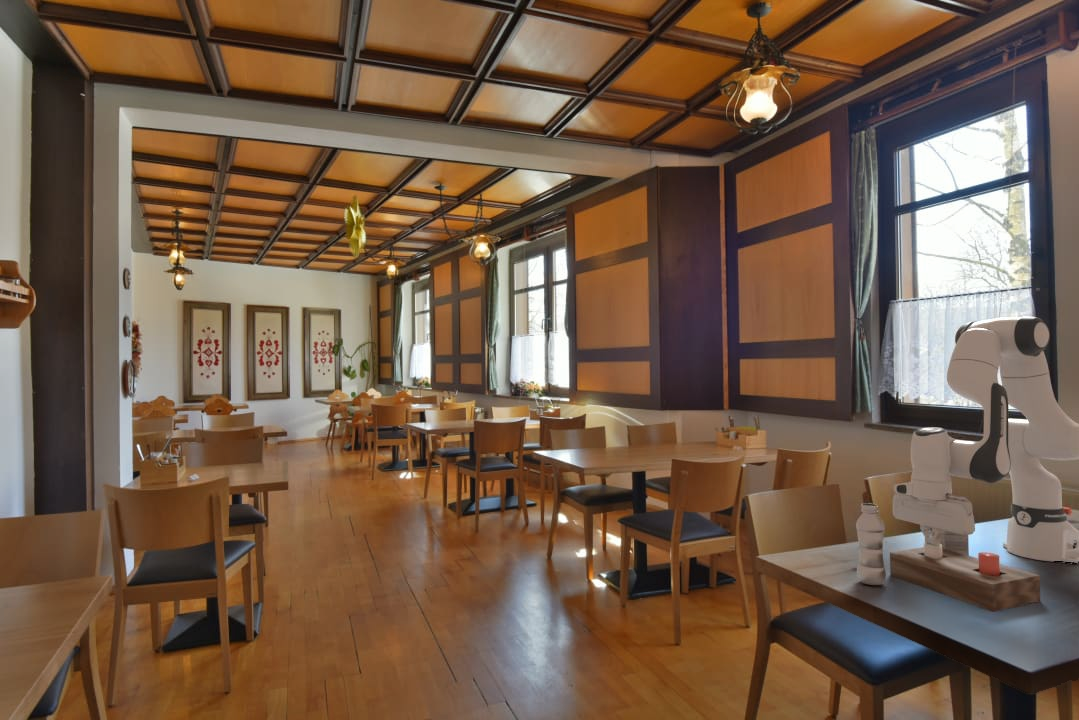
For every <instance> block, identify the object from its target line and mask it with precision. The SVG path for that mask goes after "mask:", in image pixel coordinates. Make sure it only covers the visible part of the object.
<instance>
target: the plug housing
mask: <svg viewBox="0 0 1079 720" xmlns="http://www.w3.org/2000/svg"><path fill="white" fill-rule="evenodd" d="M889 574H890V576H891V577H894V578H897V579H899V580H902V581H906V582H908V583H910V584H915V585H918V586H919V587H923V588H925V589H929V590H931V591H934V592H937V593H940V594H942V595H945V596H948V597H951V598H952V599H953V598H955V599H957V600H959V601H963V602H966V603H968V604H970V605H974V606H977V607H978V608H979V607H980V608H981V609H986V610H988V611H991V612H997V611H998V612H999V611H1003V610H1007V609H1011V608H1016V607H1020V606H1021V607H1022V606H1026V605H1029V603H1031V604H1034V602H1035V603H1039V602H1038V601H1040V602H1041V575H1039V574H1035V573H1032V572H1029V571H1026V570H1022V569H1018V568H1014V567H1011V566H1008V565H1004V564H1001V563H1000V575H998V576H990V575H987V574H983V573H980V572H979V559H978V557H975V556H971V555H965V554H961V553H958V552H954V551H951V550H947V549H944V548H942V558H939V559H933V558H930V557H927V556H924V546H923V547H915V548H909V549H903V550H902V549H901V550H896V551H890V552H889ZM1025 604H1026V605H1025Z"/></svg>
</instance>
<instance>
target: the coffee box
mask: <svg viewBox="0 0 1079 720" xmlns="http://www.w3.org/2000/svg"><path fill="white" fill-rule="evenodd" d="M929 531H930V533H931V535H932V536H934V535H935V533H936V532H933V528H932V527H931V529H929ZM940 544H942V548H944V549H947V550H951V551H954V552H958V553H961V554H965V555H969V554H970V553H969V552H970V550H969V546H970V545H969V535H960V534H956V533H952V532H948V531H944V534H943V535H942V537H941V538H940ZM969 556H970V555H969Z"/></svg>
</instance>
